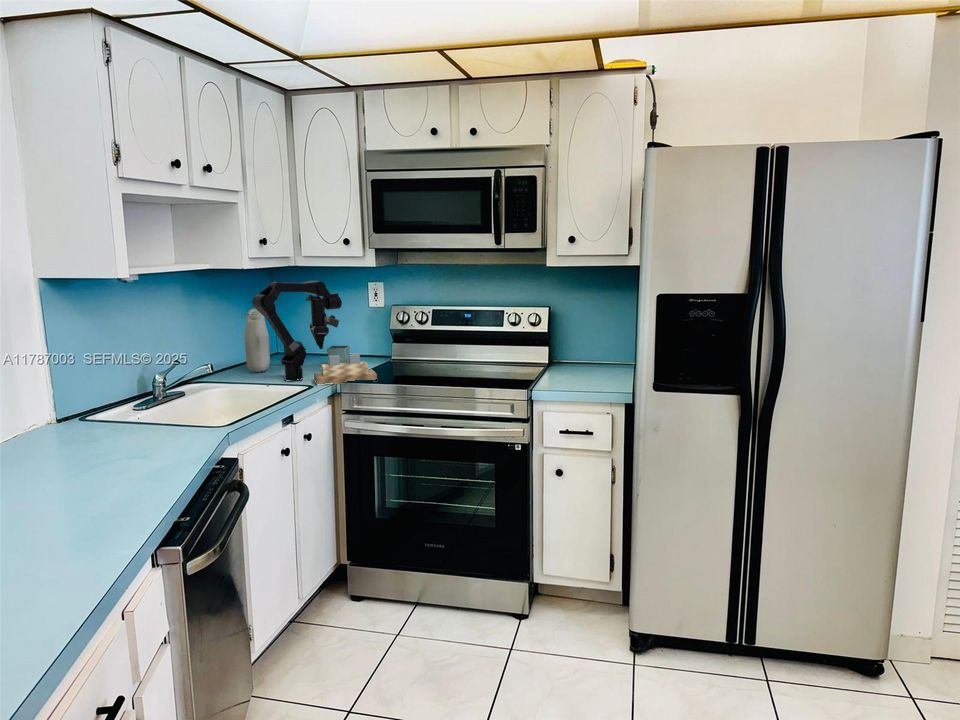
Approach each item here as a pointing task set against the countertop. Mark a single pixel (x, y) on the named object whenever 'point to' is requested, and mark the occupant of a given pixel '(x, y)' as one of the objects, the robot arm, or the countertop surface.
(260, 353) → the grey bottle
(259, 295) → the robot arm
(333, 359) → the crate
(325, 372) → the light wooden block
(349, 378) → the dock
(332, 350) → the flower pot
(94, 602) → the countertop surface
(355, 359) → the crate
